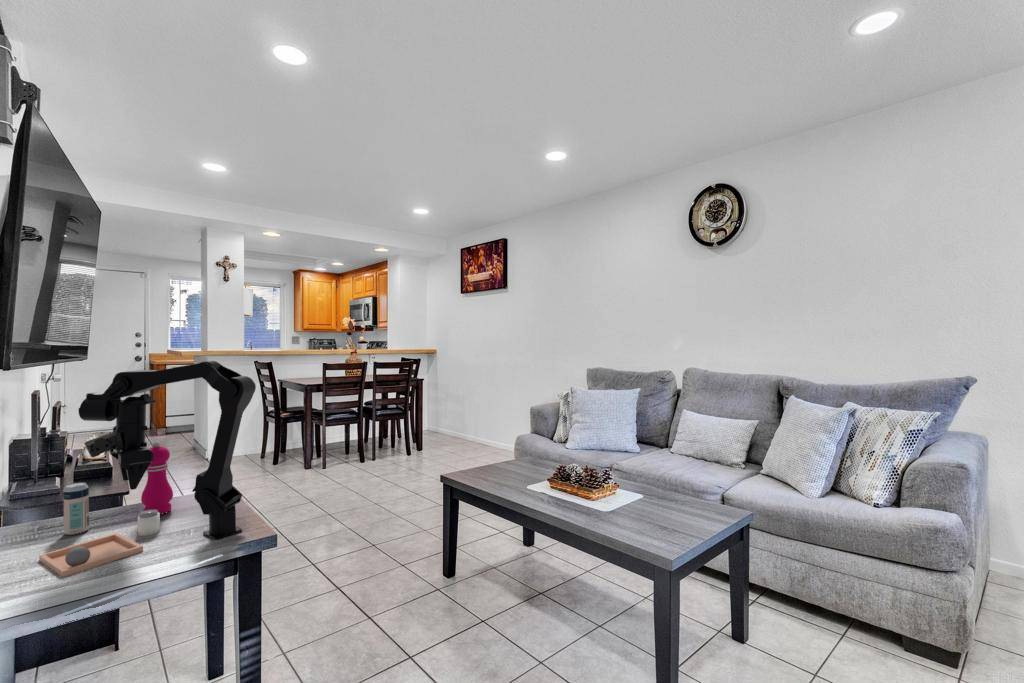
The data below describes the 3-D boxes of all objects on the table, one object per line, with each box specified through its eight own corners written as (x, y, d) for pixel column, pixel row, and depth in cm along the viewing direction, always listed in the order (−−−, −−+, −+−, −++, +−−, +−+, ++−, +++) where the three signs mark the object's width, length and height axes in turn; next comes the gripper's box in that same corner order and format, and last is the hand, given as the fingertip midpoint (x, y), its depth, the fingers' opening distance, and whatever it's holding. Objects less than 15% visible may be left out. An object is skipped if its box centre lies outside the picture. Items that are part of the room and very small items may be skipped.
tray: (143, 553, 111) (143, 546, 111) (62, 579, 99) (62, 571, 99) (117, 539, 119) (117, 532, 119) (39, 562, 107) (39, 555, 107)
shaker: (163, 533, 123) (162, 510, 122) (142, 539, 119) (142, 516, 119) (155, 529, 125) (154, 507, 125) (134, 535, 121) (134, 513, 121)
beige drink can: (81, 527, 126) (80, 481, 126) (93, 529, 125) (93, 483, 124) (59, 534, 122) (58, 486, 121) (71, 537, 120) (70, 488, 120)
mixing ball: (93, 564, 105) (93, 545, 105) (69, 572, 102) (69, 552, 101) (86, 559, 107) (86, 541, 107) (62, 567, 104) (62, 548, 104)
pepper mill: (156, 518, 132) (155, 444, 132) (134, 516, 134) (133, 443, 133) (179, 508, 139) (178, 438, 139) (158, 507, 141) (157, 437, 140)
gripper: (83, 419, 121) (81, 482, 121) (93, 431, 108) (91, 502, 108) (138, 415, 129) (137, 474, 129) (154, 426, 116) (153, 491, 117)
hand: (129, 484), depth 121 cm, fingers open, 9 cm apart
